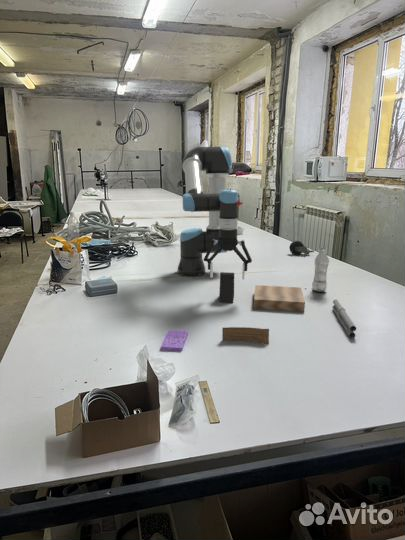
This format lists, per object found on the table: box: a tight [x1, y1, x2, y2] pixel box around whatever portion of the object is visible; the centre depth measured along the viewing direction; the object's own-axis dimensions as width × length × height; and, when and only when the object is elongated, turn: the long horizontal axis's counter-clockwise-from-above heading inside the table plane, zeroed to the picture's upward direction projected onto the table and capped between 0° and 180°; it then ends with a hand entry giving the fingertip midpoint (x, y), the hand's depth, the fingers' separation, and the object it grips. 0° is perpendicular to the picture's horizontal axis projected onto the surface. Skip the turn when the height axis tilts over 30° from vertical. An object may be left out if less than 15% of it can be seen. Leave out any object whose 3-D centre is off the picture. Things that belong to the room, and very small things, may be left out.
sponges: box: [160, 329, 189, 352], centre depth 123 cm, size 7×13×2 cm, turn 174°
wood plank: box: [221, 326, 270, 345], centre depth 122 cm, size 15×2×5 cm, turn 84°
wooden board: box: [253, 284, 306, 313], centre depth 157 cm, size 20×18×4 cm
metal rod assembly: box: [332, 298, 357, 339], centre depth 137 cm, size 26×3×5 cm, turn 174°
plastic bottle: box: [311, 247, 330, 293], centre depth 168 cm, size 6×7×20 cm
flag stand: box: [236, 197, 245, 236], centre depth 300 cm, size 13×13×30 cm
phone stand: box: [218, 271, 235, 304], centre depth 159 cm, size 9×6×12 cm, turn 172°
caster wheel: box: [289, 240, 315, 257], centre depth 235 cm, size 6×10×15 cm
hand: (227, 277), depth 158 cm, fingers open, 13 cm apart
